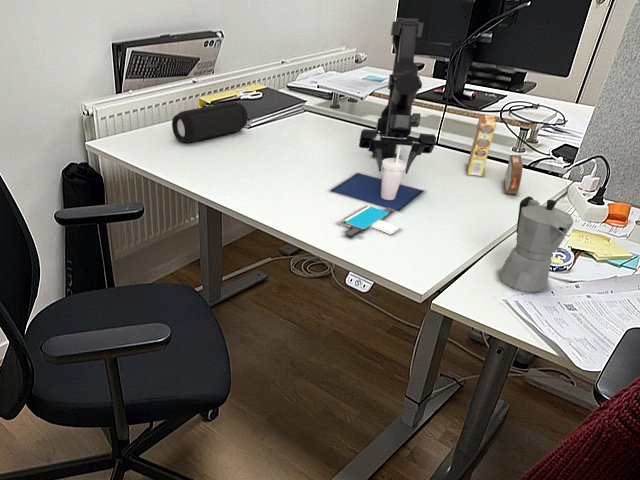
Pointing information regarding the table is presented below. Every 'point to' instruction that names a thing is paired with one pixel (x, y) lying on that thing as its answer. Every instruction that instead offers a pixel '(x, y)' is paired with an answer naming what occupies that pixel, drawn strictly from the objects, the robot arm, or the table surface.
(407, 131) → the robot arm
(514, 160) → the tin
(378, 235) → the table surface
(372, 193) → the cloth
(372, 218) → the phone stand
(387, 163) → the smoothie
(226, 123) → the portable speaker
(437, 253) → the table surface
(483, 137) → the candy box
